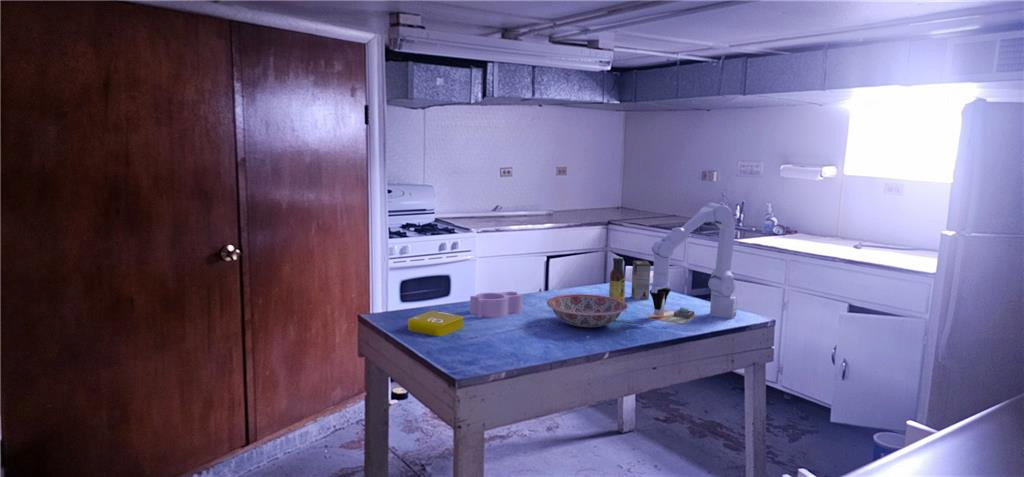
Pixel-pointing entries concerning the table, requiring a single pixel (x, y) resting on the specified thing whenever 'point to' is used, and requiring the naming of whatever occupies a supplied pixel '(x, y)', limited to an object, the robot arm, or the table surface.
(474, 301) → the pink lobed tray
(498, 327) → the table surface
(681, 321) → the beige flat square board
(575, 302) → the ceramic bowl
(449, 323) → the element tile
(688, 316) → the button housing
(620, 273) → the sauce bottle
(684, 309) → the button
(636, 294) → the coffee box
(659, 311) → the cylinder
